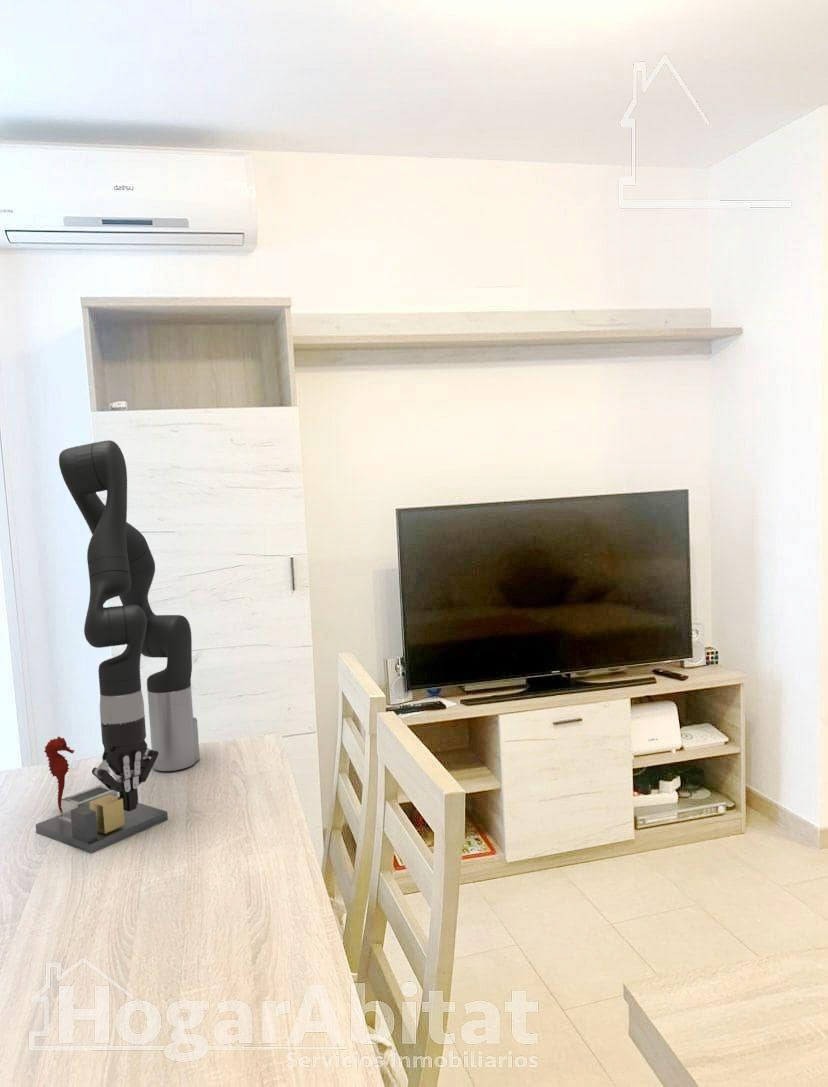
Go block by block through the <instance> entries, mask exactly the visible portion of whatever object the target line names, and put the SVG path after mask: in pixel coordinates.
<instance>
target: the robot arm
mask: <svg viewBox="0 0 828 1087" xmlns="http://www.w3.org/2000/svg"><path fill="white" fill-rule="evenodd" d="M58 465H59V469H60V470H59V471H60V474H61V475H62V479H63V481H64V483H65V486H66V487H67V489H68V491H69V493H70V495H71V497H72V498H73V500H74V502H75V505H76V506H77V507H78V510H79V511H80V513H81V515H82V517H83V518H84V520H85V522H86V524H87V526H88V529H89V531H90V533H91V537H90V541H89V543H88V547H87V551H86V552H87V553H86V554H87V556H86V557H87V558H86V559H87V569H88V578H89V590H90V591H89V602H88V607H87V612H86V617H85V621H84V625H83V626H84V628H83V634H84V638H85V640H86V642H87V643H88V644H89V645H90V646H92V647H93V648H96V649H97V648H99V649H103V648H109V647H116V646H125V645H126V647H125V649H124V650H123V652H122V653H120V654H119V655H116V656H114V657H111V658H108V659H105V660H103V661H102V662H101V663H99V665H98V682H99V684H98V685H99V694H100V696H99V715H100V716H99V717H100V719H99V720H100V729H101V730H100V732H101V741H102V745H103V754H102V756H101V758H102V762H101V763H100V764H99V765H98V766H96V767H93V768H92V769H91V774H92V775H93V776H94V777H95V778H96V779H98V780H99V781H100V782H101V783H102V785H103V786H106V787H107V788H108V789H110V790H114V791H117V793H119V796H118V797H120V798H123V809H124V810H125V811H131V810H134V809H136V808H137V806H136V805H138V803H139V794H138V792H139V791H138V788H139V786H140V784H142V783H145V782H146V781H147V780H148V777H149V776H150V773H151V771H152V769H154V770H155V771H160V772H172V771H179V770H183V769H186V768H189V767H191V766H193V765H194V764H196V762H197V761H200V760H201V759H200V744H199V728H198V718H196V717H194V708H193V695H192V682H191V681H192V671H193V659H192V658H193V656H192V655H193V653H192V651H193V650H192V648H193V647H192V646H193V645H192V643H193V641H192V629H191V624H190V621H189V619H187V617H185V616H184V615H181V614H162V615H160V614H159V615H157V614H155V613H154V612H153V610H152V607H151V606H150V603H149V592H150V589H151V586H152V584H153V580H154V577H155V572H156V563H155V559H154V557H153V554H152V551H151V550H150V546H149V545H148V542H147V540H146V537H145V536H144V535H143V534H142V533H141V531H139V529H137V528H136V527H134V526H133V525H132V524H131V523H129V522H127V517H128V516H127V514H128V513H127V512H128V472H127V464H126V460H125V456H124V454H123V451H122V448H121V447H120V446H119V444H118V443H116V442H115V441H114V440H108V439H107V440H101V441H97V442H91V443H87V444H81V445H77V446H73V447H69V448H66V449H63V450H62V451H61V452H60V453H59V456H58ZM104 491H106V501H105V503H104V502H103V501H102V500H101V498H100V497H99V495H98V494H97V493H100V492H104ZM116 597H118V598H119V600H120V601H121V604H122V605H117V606H104V605H105V603H106V602H107V601H109V600H111V599H113V598H116ZM142 656H143V657H147V658H158V659H159V658H165V659H166V667H165V668H163V670H160V671H157V672H155V673H152V674H150V675H149V676H148V677H147V680H146V689H147V690H146V692H147V701H148V702H147V703H148V704H147V705H148V716H149V718H148V719H149V730H150V731H149V732H150V746H151V748H149V747H148V744H147V742H146V741H145V739H146V737H147V730H146V729H147V727H146V715H145V704H144V702H145V701H144V696H143V693H142V692H143V691H142V680H141V657H142ZM111 771H112V774H113V776H112V775H111Z"/></svg>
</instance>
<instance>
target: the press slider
mask: <svg viewBox="0 0 828 1087" xmlns="http://www.w3.org/2000/svg"><path fill="white" fill-rule="evenodd" d="M89 803H90V809H91V810H94V811H96V822H97V831H98V832H101V833H104V834H106V833H108V832H111V831H113V830H116V829H118V828H120V827H123V826H125V822H124V809H123V798H120V796H118V797H117V796H113V795H110V794H109V795H106V796H103V797H101V798H98V799H95V800H93V801H90V802H89Z"/></svg>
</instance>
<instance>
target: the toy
mask: <svg viewBox="0 0 828 1087" xmlns="http://www.w3.org/2000/svg"><path fill="white" fill-rule="evenodd" d="M49 740H50V741H48V742H47V744H46V746H44V749H45V750H44V752H43V753H45V754H46V755H45V757H47V758H48V759H47V761H48V763H47V764H48V766H47V767H49V770H48V771H50V774H51V775H52V777H53V778H54V777H55V779H56V780H57V782H56V783H57V787H58V788H57V790H58V792H57V805H58V806H57V807H58V810H59V812H60V813H62V802H61V799H63V795H64V789H65V782H66V780H65V777H66V775H67V773H69V769H70V764H69V763H68V762H69V761H68V759H66V756H64V755H63V754H61V753H59V752H62V751H63V752H64V751H66V752H68V753H70V754H74V752H75V751H76V750H75V749H70V748H71V746H67V745H68V744H67V741H66V740H65V738H64V737H61V736H57V738H53V739H49Z"/></svg>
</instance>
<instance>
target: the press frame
mask: <svg viewBox="0 0 828 1087" xmlns="http://www.w3.org/2000/svg"><path fill="white" fill-rule="evenodd" d="M109 794H110V795H113V796H117V797H119V796H118V792H117V791H114V790H110V789H108V788H107V787H106V786H105V785H104V784H99V785H96V786H94V787H91V788H89V789H86V790H83V791H80V792H78V793H74V794H72V795H70V796H67V797H64V798H63V797H62V799H61V808H62V812H61V813H62V814H60V815H57V816H53V817H51V818H49V819H46V820H43V821H41V822H38V823H35V831H36V832H35V833H37V834H39V835H42V836H45V837H47V838H50V839H53V840H54V841H58V842H60V843H63V844H65V845H68V846H71V847H73V848H76V849H78V850H81V851H84V852H86V853H89V854H92V853H95V852H96V851H99V850H103V849H104V848H106V847H108V846H110V845H113V844H115V843H117V842H118V843H119V841H122V840H125V839H127V838H128V837H131V836H133V835H136V834H138V833H141V832H142V831H145V830H147V829H149V828H152V827H154V826H156V825H159V824H161V823H163V822H165V821H168V820H169V817H168V815H169V814H168V811H167V810H163V809H161V808H157V807H154V806H150V805H147V804H143V803H140V802H138V805H136V806H137V808H136V809H134V810H131V811H125V810H124V822H125V826H123V827H120V828H118V829H116V830H113V831H111V832H108V833H106V834H104V833H101V832H98V831H97V822H96V811H94V810H91V809H90V803H89V802H90V801H93V800H95V799H98V798H101V797H103V796H106V795H109Z"/></svg>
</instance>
